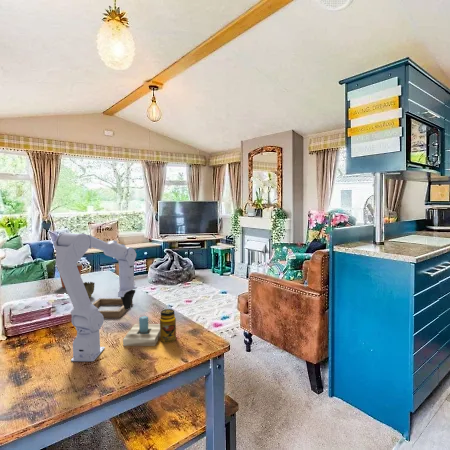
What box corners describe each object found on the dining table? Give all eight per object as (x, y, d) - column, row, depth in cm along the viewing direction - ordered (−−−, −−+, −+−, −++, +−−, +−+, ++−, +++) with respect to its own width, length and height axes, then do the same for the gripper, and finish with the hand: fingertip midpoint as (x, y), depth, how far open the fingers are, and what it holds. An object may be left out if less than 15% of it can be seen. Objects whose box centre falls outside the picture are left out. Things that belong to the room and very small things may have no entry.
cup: (89, 299, 168) (89, 285, 168) (77, 299, 170) (77, 284, 169) (97, 295, 176) (97, 281, 175) (86, 294, 177) (85, 281, 176)
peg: (147, 339, 121) (146, 319, 120) (138, 339, 121) (137, 319, 120) (150, 335, 124) (149, 316, 124) (141, 335, 125) (140, 316, 124)
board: (154, 345, 116) (154, 339, 115) (123, 345, 116) (122, 339, 116) (163, 329, 129) (163, 324, 129) (135, 329, 130) (134, 324, 130)
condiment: (169, 346, 116) (168, 315, 115) (152, 341, 120) (151, 311, 119) (181, 338, 122) (180, 309, 121) (164, 334, 127) (163, 305, 125)
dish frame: (119, 317, 143) (119, 311, 143) (82, 317, 143) (82, 311, 143) (132, 304, 161) (132, 298, 161) (99, 304, 162) (99, 298, 161)
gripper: (130, 281, 118) (131, 315, 120) (141, 271, 133) (142, 302, 134) (112, 281, 119) (113, 315, 120) (125, 271, 133) (126, 302, 134)
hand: (127, 308), depth 127 cm, fingers closed
